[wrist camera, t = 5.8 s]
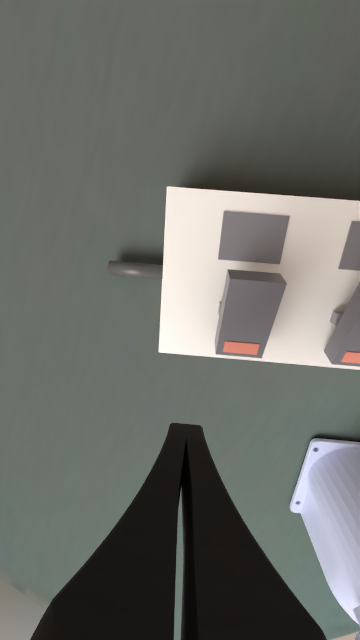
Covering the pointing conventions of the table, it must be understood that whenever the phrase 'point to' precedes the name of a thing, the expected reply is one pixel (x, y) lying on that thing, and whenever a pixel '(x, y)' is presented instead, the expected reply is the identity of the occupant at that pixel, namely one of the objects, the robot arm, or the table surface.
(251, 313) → the block
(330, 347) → the block
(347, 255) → the power strip
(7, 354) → the table surface
